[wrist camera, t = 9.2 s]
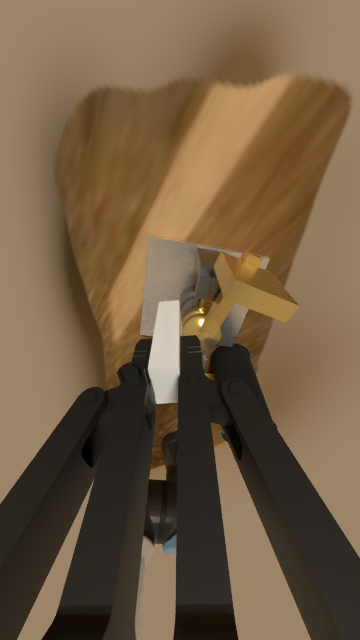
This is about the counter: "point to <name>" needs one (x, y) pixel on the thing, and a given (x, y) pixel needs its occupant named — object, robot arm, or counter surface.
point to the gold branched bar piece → (237, 297)
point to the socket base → (186, 282)
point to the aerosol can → (237, 370)
